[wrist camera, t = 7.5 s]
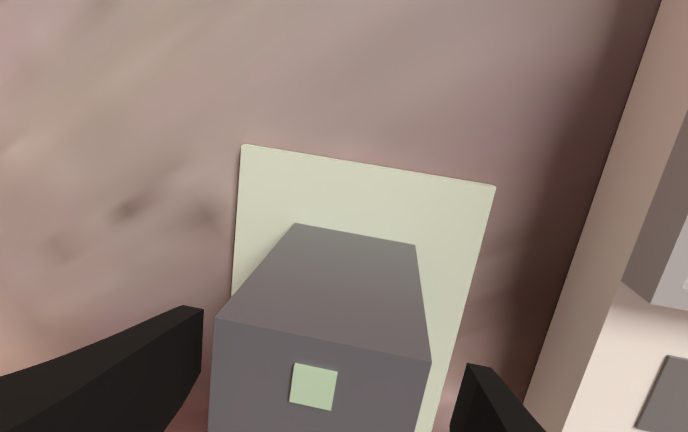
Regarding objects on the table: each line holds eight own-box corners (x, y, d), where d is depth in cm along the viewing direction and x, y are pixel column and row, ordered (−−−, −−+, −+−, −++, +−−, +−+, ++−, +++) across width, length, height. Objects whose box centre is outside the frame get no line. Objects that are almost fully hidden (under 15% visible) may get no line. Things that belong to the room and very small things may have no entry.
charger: (387, 373, 14) (381, 564, 8) (279, 350, 14) (200, 518, 8) (415, 244, 13) (432, 365, 7) (294, 222, 13) (211, 320, 7)
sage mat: (426, 436, 15) (427, 444, 15) (228, 392, 16) (223, 399, 15) (493, 185, 12) (496, 187, 12) (245, 143, 13) (241, 145, 12)
